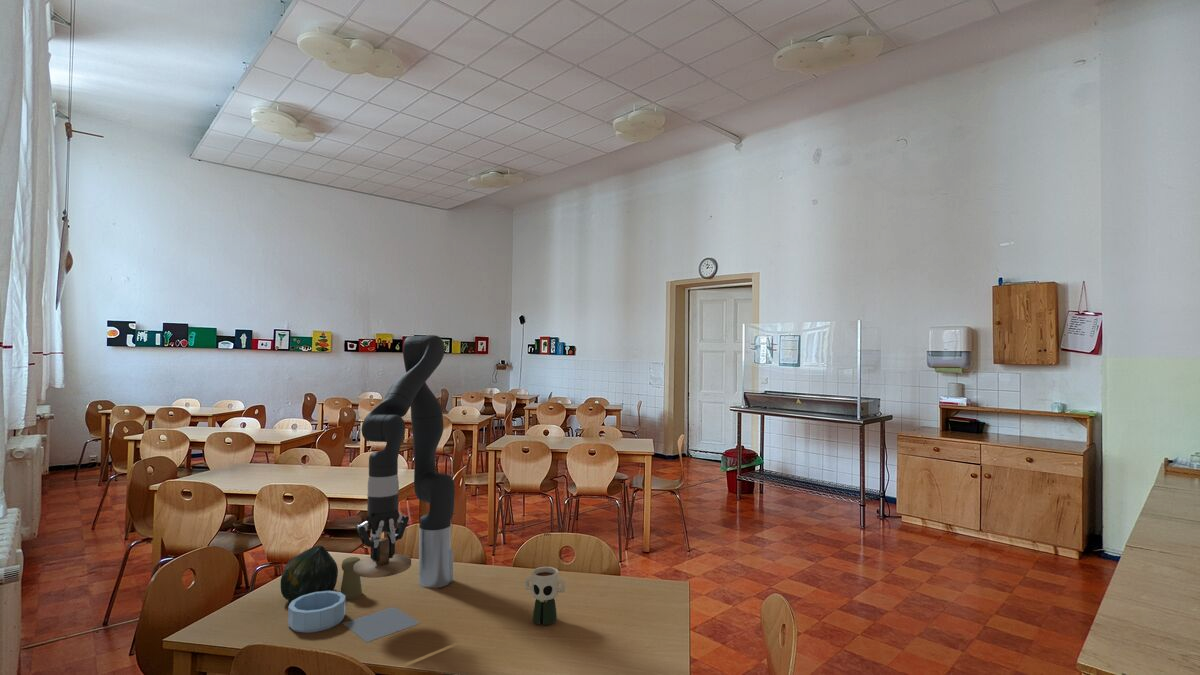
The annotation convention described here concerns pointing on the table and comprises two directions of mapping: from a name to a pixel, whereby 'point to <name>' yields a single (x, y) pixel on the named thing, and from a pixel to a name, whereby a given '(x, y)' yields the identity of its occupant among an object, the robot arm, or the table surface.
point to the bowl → (316, 611)
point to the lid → (382, 563)
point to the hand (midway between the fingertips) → (382, 559)
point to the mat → (380, 624)
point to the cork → (350, 579)
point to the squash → (309, 573)
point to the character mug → (545, 593)
